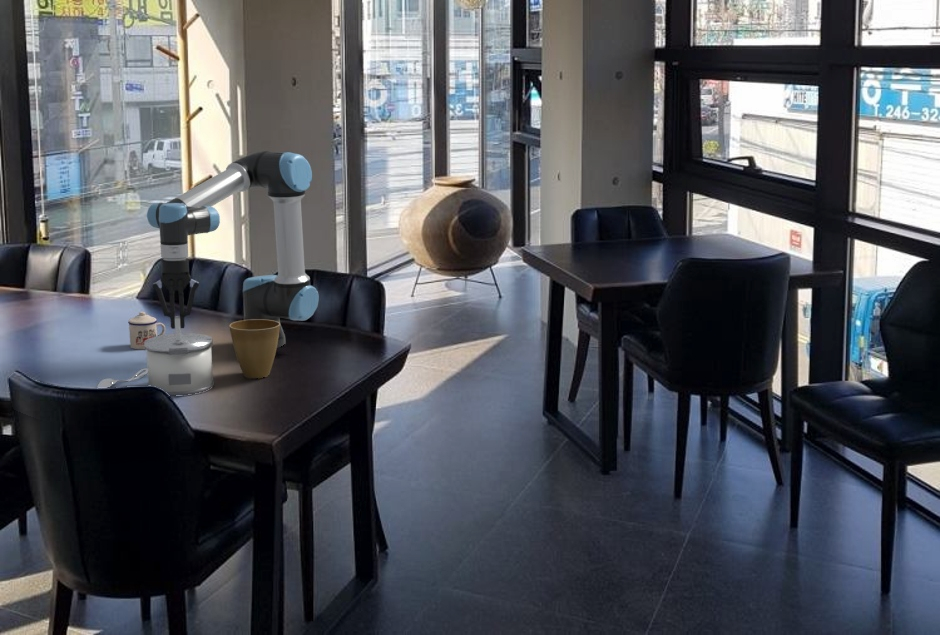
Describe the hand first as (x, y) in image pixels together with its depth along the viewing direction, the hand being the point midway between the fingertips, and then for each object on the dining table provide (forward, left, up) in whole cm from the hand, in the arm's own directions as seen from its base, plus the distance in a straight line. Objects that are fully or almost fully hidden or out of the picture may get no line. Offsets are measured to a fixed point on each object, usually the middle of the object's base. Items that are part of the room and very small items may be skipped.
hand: (178, 339), depth 316 cm
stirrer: (+16, -9, -15) cm, 23 cm away
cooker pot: (0, 0, -14) cm, 14 cm away
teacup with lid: (+11, -50, -15) cm, 53 cm away
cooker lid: (0, +1, -2) cm, 2 cm away
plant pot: (-22, -8, -15) cm, 28 cm away
